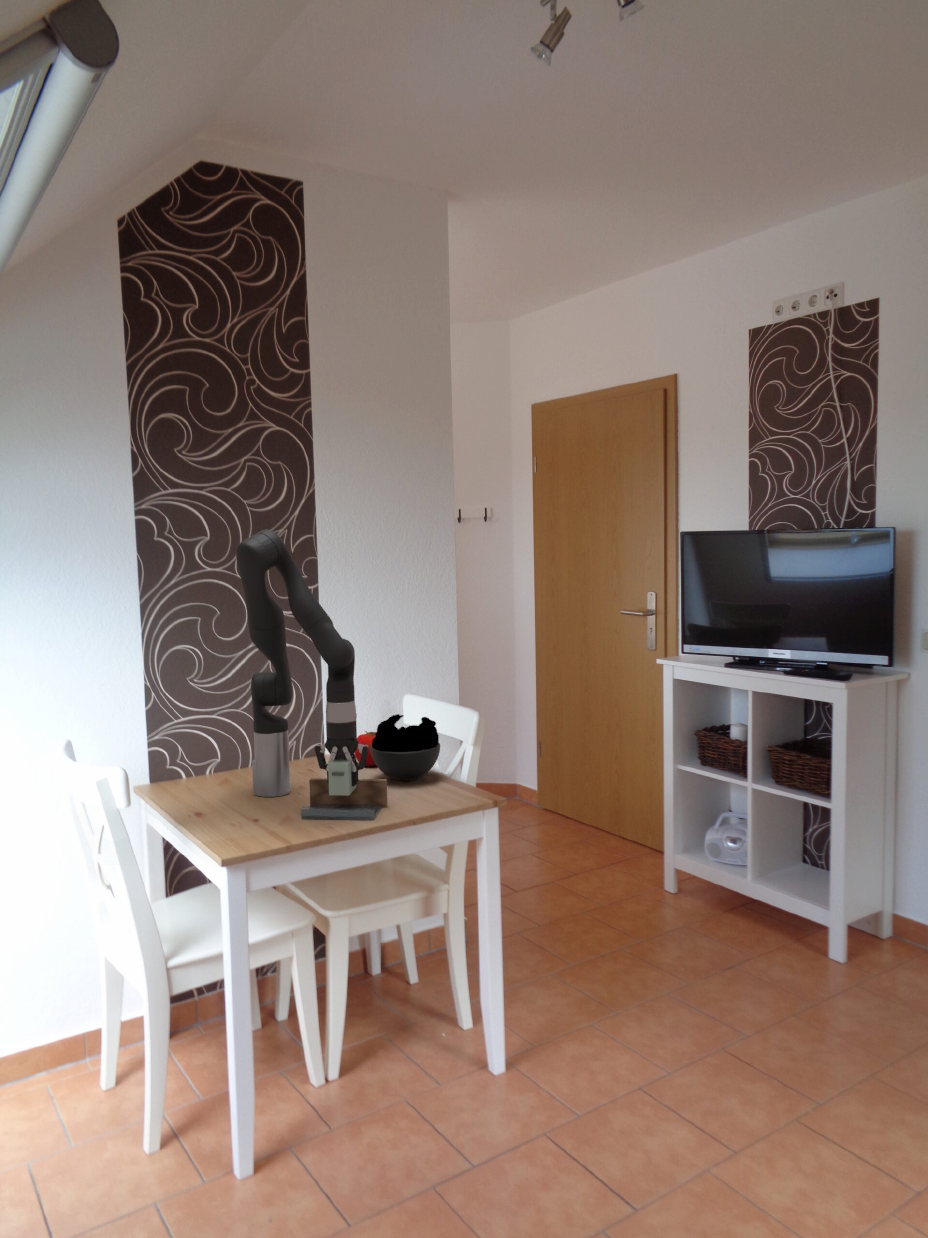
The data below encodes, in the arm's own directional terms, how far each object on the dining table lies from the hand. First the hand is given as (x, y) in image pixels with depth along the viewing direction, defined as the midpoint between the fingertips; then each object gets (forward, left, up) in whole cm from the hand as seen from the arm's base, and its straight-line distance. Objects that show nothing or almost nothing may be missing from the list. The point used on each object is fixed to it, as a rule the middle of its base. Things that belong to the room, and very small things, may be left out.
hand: (343, 785), depth 228 cm
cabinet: (0, 0, -1) cm, 1 cm away
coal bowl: (+10, +33, -7) cm, 35 cm away
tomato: (-4, +51, -7) cm, 51 cm away
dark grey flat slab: (0, -1, -7) cm, 7 cm away
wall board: (0, +5, -7) cm, 8 cm away
